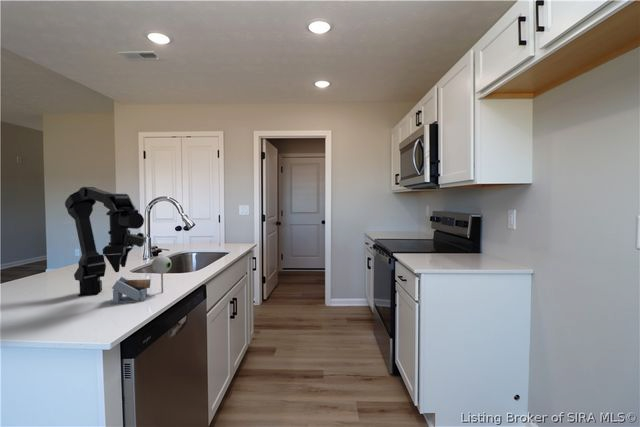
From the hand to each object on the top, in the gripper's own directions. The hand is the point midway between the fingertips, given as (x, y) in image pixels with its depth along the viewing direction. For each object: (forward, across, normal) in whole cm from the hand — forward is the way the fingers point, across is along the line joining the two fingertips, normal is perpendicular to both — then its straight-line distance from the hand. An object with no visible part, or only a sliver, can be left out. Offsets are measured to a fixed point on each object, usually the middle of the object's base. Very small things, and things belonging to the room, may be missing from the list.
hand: (120, 269), depth 119 cm
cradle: (+12, 0, -2) cm, 12 cm away
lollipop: (+12, +6, -13) cm, 19 cm away
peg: (+6, 0, -2) cm, 6 cm away
